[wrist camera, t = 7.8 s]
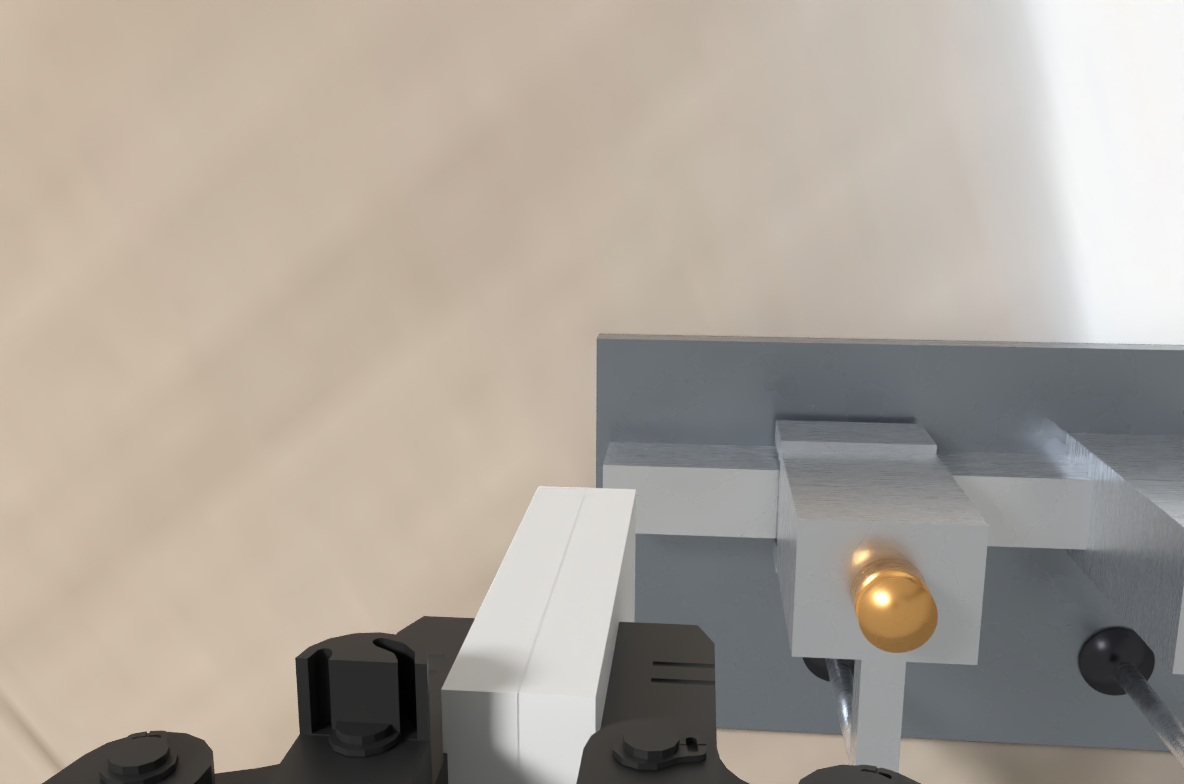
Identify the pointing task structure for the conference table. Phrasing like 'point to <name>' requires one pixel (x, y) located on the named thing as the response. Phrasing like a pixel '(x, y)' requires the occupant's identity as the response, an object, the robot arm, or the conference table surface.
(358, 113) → the conference table surface
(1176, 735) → the fixed leg
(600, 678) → the robot arm
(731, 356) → the flange plate
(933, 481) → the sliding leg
